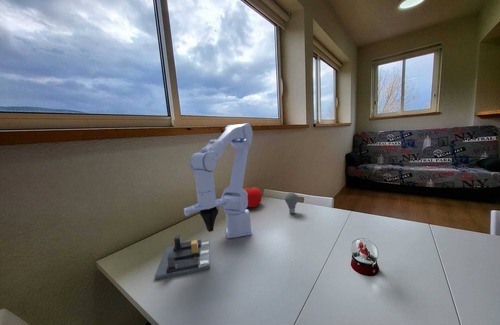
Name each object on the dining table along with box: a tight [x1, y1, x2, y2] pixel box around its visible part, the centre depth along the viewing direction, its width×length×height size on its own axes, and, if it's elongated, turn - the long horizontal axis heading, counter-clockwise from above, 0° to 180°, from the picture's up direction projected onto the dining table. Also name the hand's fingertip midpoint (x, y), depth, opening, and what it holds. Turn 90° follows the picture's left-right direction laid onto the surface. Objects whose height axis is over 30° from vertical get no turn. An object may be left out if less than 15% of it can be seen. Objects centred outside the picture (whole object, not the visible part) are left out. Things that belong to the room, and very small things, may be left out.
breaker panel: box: [154, 234, 211, 280], centre depth 64 cm, size 15×15×5 cm
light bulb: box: [284, 192, 299, 214], centre depth 94 cm, size 6×6×10 cm
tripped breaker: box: [191, 239, 198, 254], centre depth 64 cm, size 2×2×3 cm
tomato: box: [243, 186, 263, 208], centre depth 107 cm, size 11×12×10 cm
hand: (210, 230), depth 65 cm, fingers closed
